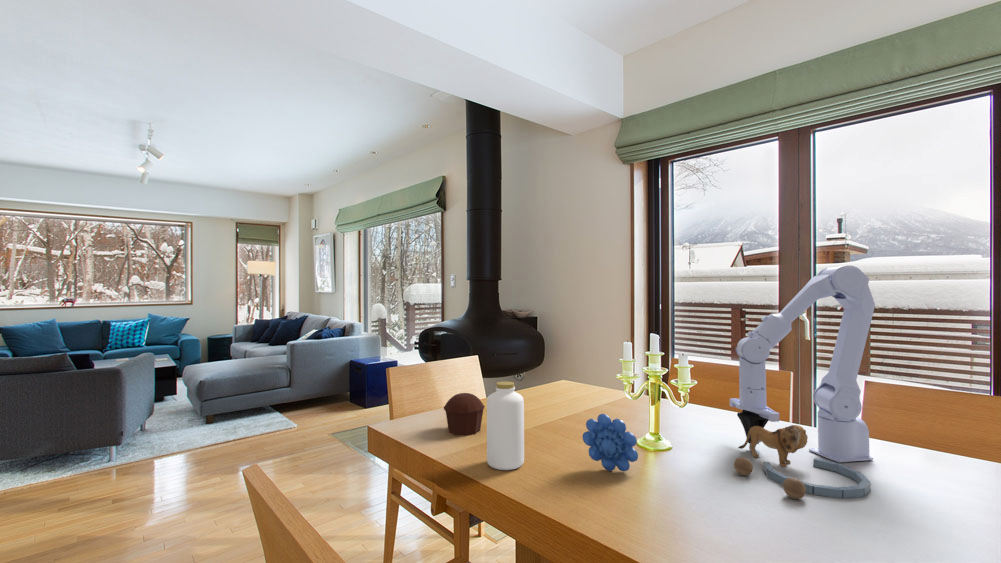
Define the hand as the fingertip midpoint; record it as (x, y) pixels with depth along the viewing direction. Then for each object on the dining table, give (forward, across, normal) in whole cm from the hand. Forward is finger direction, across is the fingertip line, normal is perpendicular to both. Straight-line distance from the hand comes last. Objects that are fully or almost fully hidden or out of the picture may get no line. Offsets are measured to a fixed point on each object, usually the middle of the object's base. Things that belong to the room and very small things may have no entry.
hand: (753, 443), depth 109 cm
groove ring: (+1, +18, 0) cm, 18 cm away
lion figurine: (+2, +7, 0) cm, 7 cm away
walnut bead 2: (+1, +24, -11) cm, 27 cm away
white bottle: (+2, 0, -61) cm, 61 cm away
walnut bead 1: (+1, +13, -13) cm, 19 cm away
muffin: (+2, -26, -68) cm, 73 cm away
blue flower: (+2, +7, -40) cm, 41 cm away
